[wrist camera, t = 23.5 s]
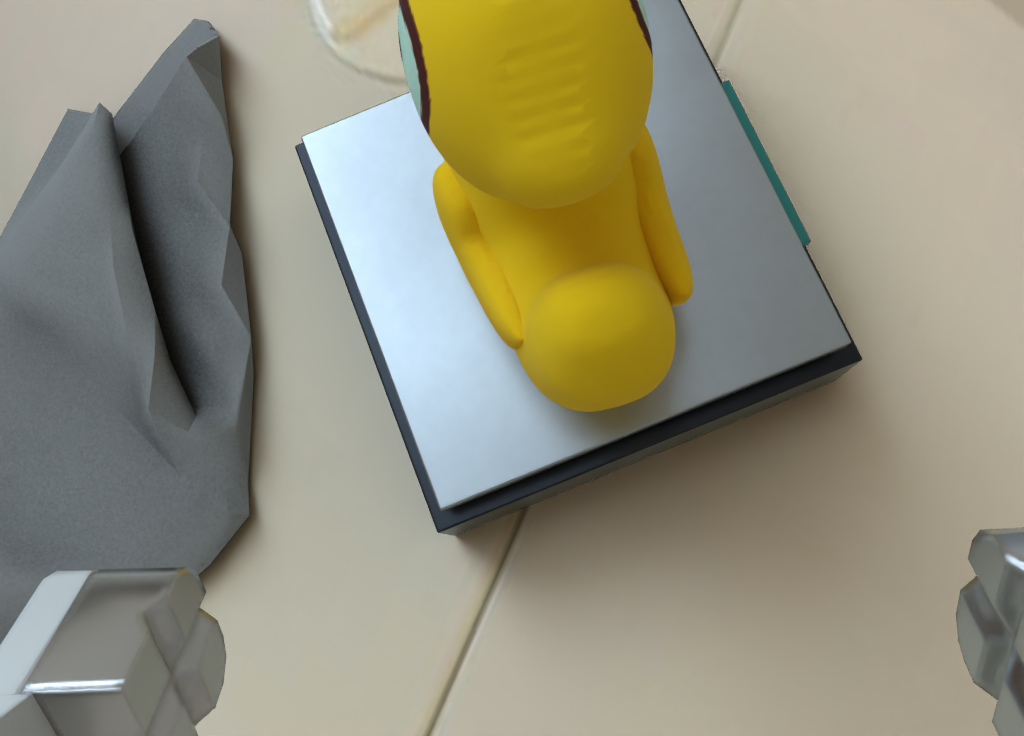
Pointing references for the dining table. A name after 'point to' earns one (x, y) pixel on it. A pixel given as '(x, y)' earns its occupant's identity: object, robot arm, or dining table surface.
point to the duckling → (553, 185)
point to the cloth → (126, 339)
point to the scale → (496, 367)
